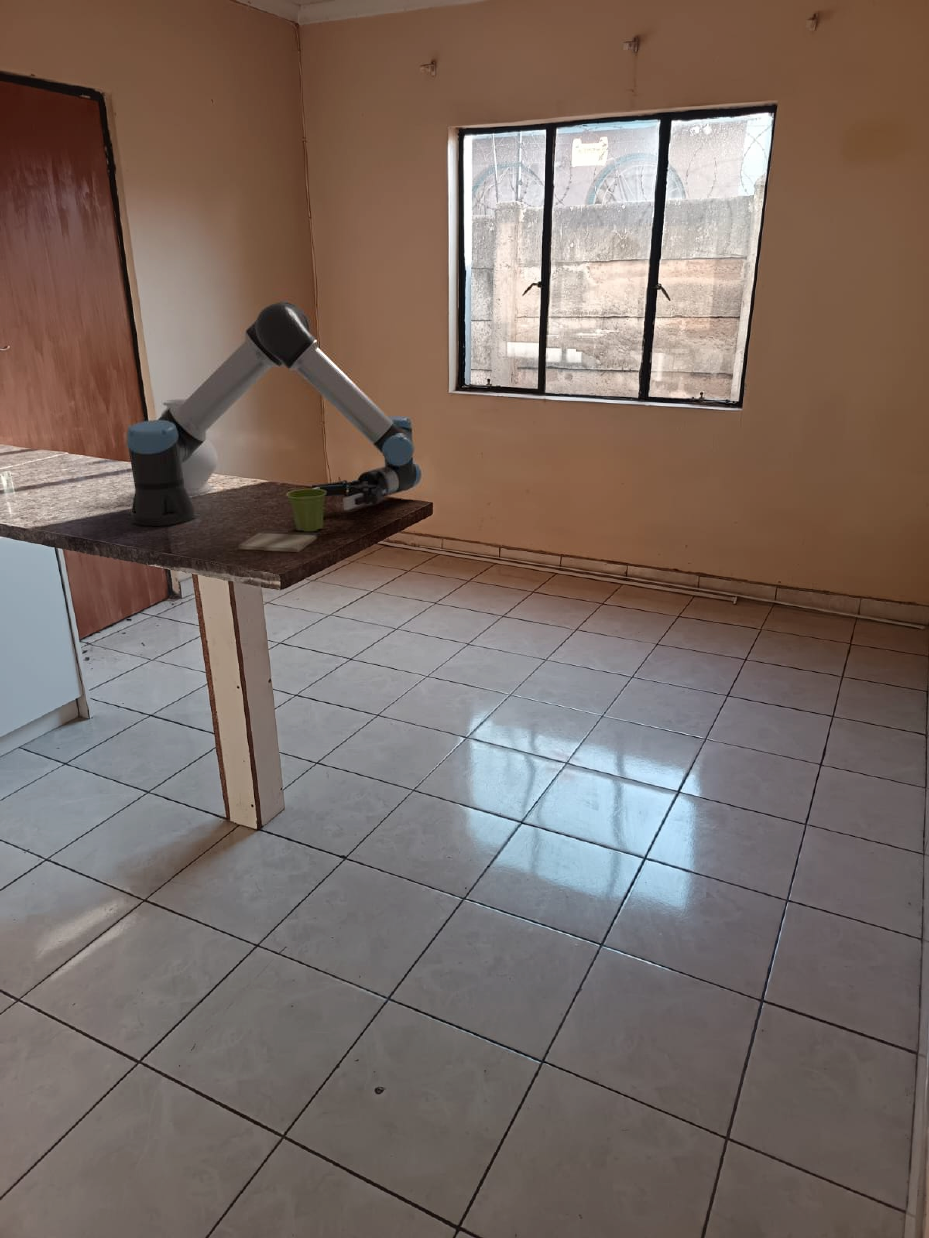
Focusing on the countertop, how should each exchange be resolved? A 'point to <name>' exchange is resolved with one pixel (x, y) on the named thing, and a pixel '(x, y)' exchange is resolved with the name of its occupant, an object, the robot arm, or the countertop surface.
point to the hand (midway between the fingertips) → (322, 501)
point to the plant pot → (307, 508)
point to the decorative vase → (197, 462)
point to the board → (279, 541)
